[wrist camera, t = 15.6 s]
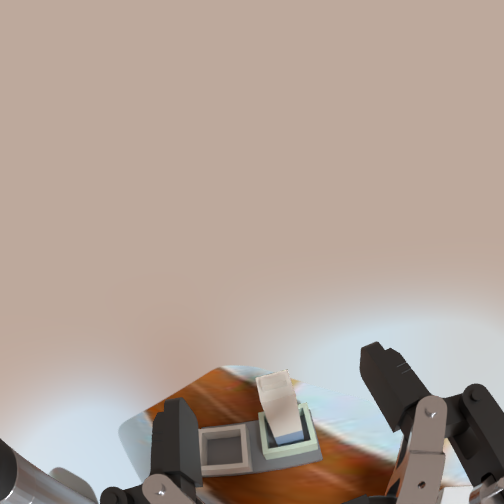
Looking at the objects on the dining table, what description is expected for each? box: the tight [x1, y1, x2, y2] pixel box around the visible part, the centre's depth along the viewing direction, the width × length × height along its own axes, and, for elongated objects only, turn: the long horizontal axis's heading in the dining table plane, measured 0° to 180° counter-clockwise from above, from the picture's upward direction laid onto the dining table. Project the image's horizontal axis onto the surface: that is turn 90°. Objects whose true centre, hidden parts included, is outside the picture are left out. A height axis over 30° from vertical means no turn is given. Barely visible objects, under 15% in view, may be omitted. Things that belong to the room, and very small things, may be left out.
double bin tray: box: [198, 402, 323, 477], centre depth 32 cm, size 17×9×3 cm, turn 94°
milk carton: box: [256, 369, 305, 447], centre depth 30 cm, size 4×4×14 cm
